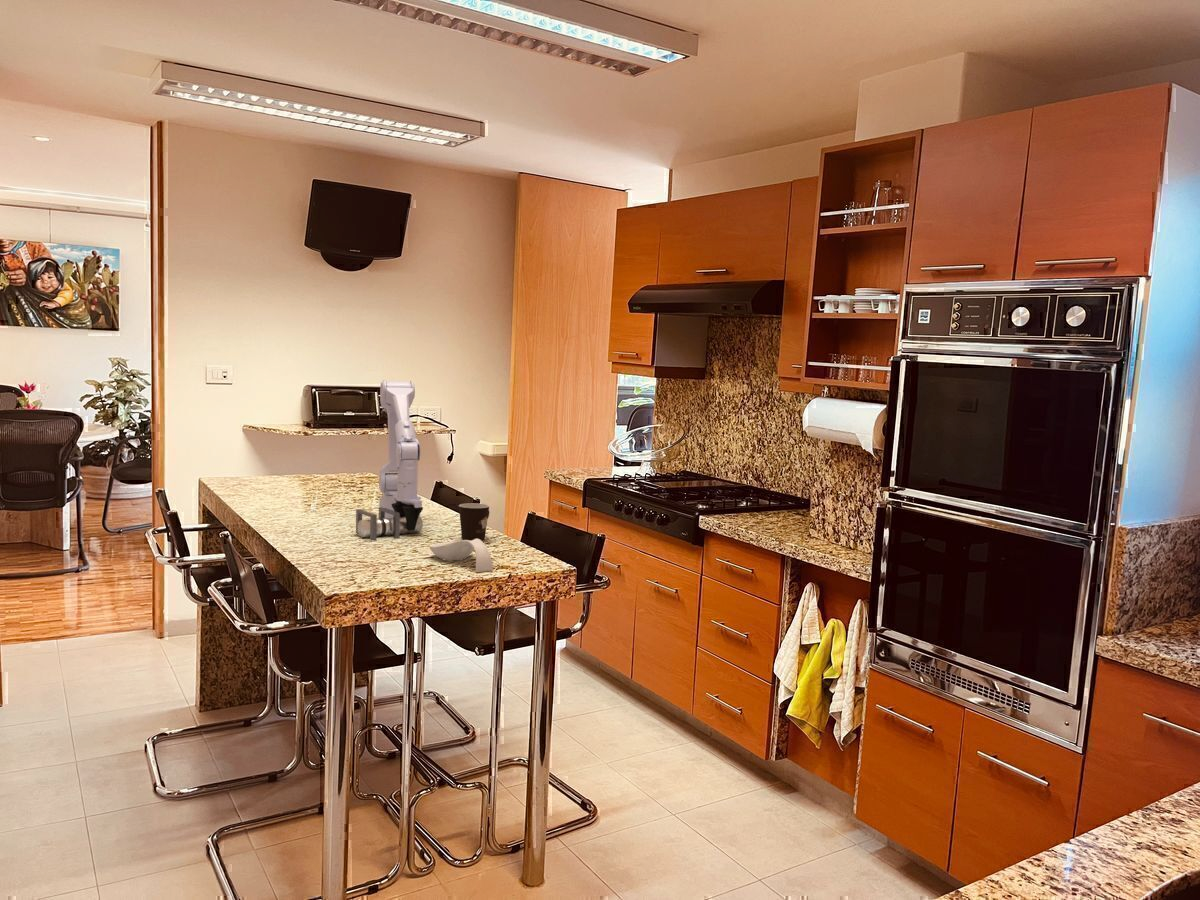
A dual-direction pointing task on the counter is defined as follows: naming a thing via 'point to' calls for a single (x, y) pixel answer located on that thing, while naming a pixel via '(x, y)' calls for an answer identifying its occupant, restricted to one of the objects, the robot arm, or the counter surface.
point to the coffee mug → (473, 520)
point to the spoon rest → (464, 552)
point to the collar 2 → (395, 519)
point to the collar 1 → (372, 522)
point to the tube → (387, 527)
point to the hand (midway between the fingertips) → (406, 528)
